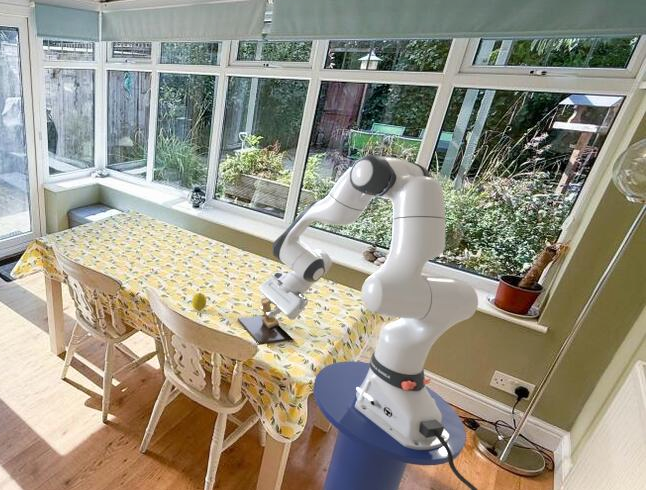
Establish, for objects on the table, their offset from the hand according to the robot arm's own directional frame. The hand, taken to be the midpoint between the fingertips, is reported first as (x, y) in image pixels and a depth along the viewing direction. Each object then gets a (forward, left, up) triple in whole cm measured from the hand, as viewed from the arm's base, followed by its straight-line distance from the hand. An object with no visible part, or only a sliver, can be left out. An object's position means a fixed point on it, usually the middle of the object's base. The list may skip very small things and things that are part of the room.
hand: (264, 313), depth 149 cm
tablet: (0, -4, -7) cm, 9 cm away
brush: (0, -4, -5) cm, 6 cm away
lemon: (+18, +18, -8) cm, 26 cm away
